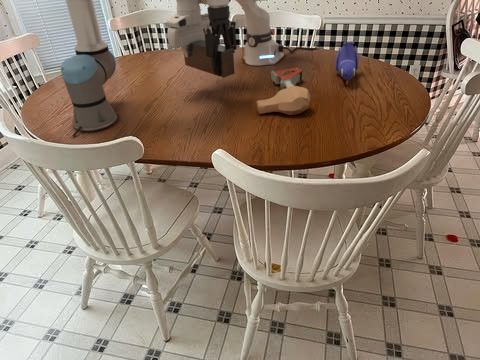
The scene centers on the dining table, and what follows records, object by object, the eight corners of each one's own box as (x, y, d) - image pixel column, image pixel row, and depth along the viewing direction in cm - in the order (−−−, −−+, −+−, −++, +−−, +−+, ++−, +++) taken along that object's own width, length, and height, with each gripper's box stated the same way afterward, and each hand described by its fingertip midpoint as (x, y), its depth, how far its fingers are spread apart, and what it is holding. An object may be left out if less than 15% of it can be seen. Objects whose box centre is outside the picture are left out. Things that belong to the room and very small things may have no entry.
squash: (314, 116, 128) (313, 95, 122) (259, 125, 130) (256, 105, 124) (308, 99, 136) (307, 78, 129) (257, 108, 138) (253, 88, 131)
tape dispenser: (295, 102, 142) (315, 82, 154) (296, 90, 138) (316, 70, 151) (257, 92, 149) (279, 74, 162) (257, 81, 146) (279, 63, 158)
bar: (234, 73, 134) (233, 47, 129) (223, 77, 131) (221, 51, 126) (195, 61, 149) (192, 37, 143) (185, 65, 146) (181, 41, 140)
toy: (333, 78, 167) (335, 88, 145) (335, 40, 160) (337, 44, 138) (355, 78, 165) (360, 87, 142) (358, 39, 158) (364, 43, 136)
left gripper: (230, 0, 128) (234, 64, 142) (189, 9, 118) (198, 77, 132) (245, 2, 124) (247, 68, 137) (204, 11, 114) (211, 82, 127)
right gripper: (205, 11, 142) (208, 47, 150) (162, 21, 131) (169, 59, 139) (215, 13, 138) (218, 49, 146) (172, 24, 127) (178, 62, 135)
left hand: (223, 72), depth 134 cm, fingers closed on bar, 6 cm apart
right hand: (194, 54), depth 143 cm, fingers closed on bar, 5 cm apart
